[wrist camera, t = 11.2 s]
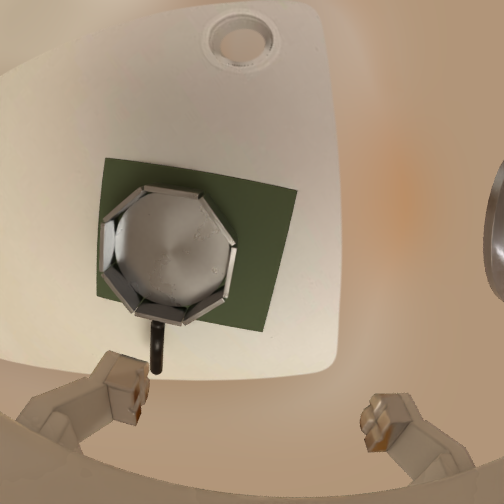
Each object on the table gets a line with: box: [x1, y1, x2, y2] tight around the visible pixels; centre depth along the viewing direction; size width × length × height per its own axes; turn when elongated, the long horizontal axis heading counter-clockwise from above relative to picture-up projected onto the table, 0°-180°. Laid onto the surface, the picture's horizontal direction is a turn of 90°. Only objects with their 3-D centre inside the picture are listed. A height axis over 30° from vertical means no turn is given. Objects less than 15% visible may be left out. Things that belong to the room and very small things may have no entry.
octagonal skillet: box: [99, 182, 238, 375], centre depth 29 cm, size 20×13×5 cm, turn 169°
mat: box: [97, 158, 297, 332], centre depth 31 cm, size 20×16×1 cm
